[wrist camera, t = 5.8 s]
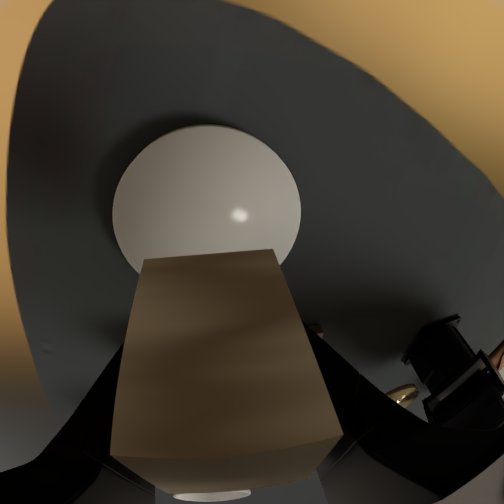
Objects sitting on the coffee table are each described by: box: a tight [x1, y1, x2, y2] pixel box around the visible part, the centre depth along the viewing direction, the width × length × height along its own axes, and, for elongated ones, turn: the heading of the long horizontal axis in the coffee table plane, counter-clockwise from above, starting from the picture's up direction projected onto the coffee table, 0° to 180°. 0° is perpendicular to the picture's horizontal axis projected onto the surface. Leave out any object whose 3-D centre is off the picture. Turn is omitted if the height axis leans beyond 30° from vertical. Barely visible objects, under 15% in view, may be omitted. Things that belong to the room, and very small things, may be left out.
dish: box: [112, 124, 301, 274], centre depth 15 cm, size 10×10×1 cm
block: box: [110, 249, 343, 493], centre depth 7 cm, size 4×4×6 cm
